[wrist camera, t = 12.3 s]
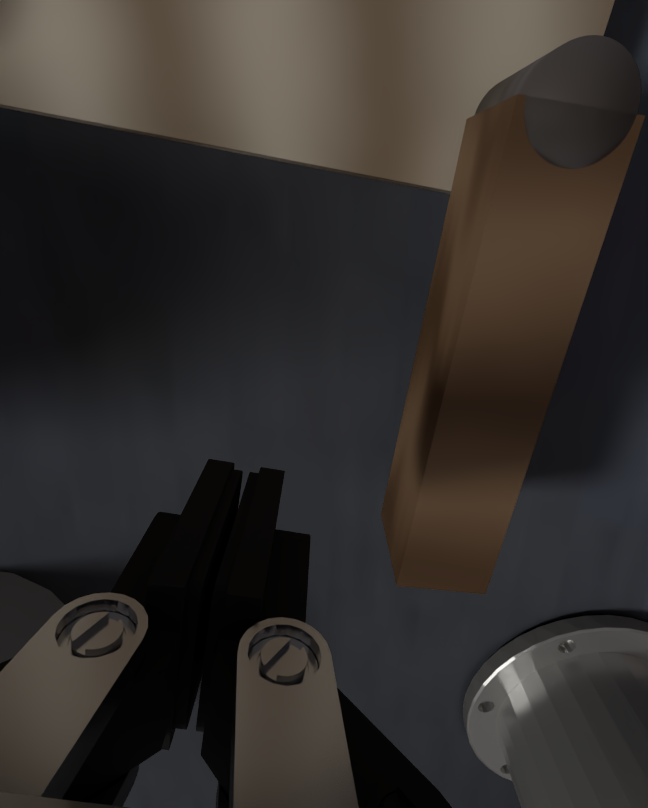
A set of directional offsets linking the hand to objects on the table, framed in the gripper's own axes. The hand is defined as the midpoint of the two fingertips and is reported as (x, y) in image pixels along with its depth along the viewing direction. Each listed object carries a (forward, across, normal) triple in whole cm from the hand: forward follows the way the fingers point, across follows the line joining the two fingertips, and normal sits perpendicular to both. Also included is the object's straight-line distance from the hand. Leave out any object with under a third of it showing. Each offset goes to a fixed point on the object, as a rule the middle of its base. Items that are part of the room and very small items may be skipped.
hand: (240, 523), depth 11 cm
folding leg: (+8, -6, -4) cm, 10 cm away
